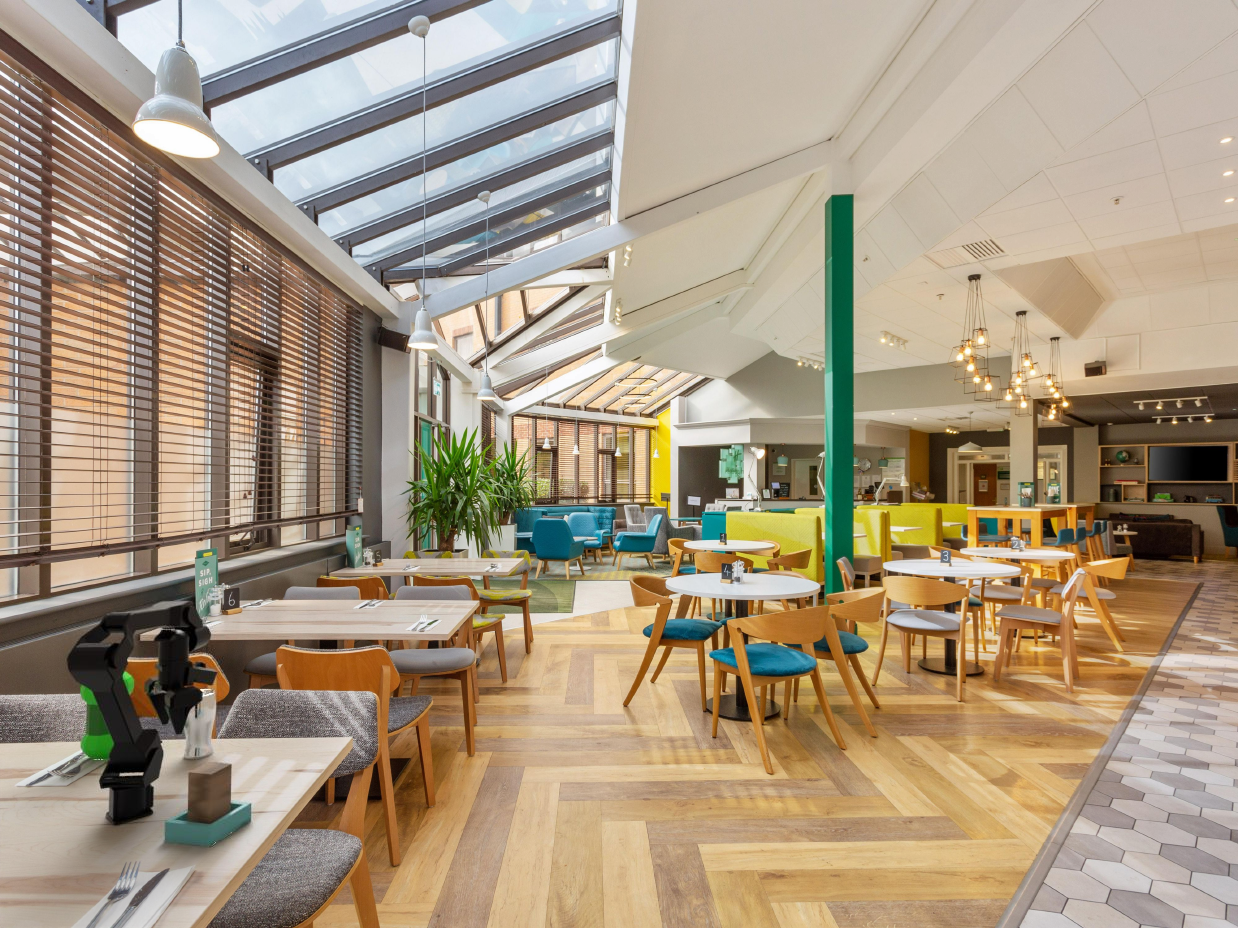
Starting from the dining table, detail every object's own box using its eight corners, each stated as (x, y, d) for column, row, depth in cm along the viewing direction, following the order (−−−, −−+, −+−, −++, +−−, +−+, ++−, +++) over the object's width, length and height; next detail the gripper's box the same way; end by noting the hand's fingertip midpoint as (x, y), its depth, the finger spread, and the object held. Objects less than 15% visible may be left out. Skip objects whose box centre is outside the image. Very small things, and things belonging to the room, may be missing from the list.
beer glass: (203, 760, 162) (204, 697, 163) (174, 760, 163) (176, 697, 163) (221, 749, 169) (222, 688, 170) (193, 748, 170) (195, 688, 170)
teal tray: (164, 840, 125) (164, 821, 125) (207, 815, 135) (208, 797, 135) (210, 846, 123) (210, 827, 123) (251, 820, 133) (251, 802, 133)
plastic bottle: (123, 745, 172) (126, 646, 173) (137, 755, 165) (139, 652, 166) (74, 757, 164) (77, 653, 165) (86, 768, 158) (89, 660, 159)
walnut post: (187, 831, 127) (188, 771, 128) (208, 818, 132) (209, 761, 132) (209, 834, 126) (210, 774, 126) (230, 821, 131) (231, 763, 131)
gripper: (229, 657, 150) (227, 728, 150) (199, 645, 163) (197, 710, 162) (171, 668, 142) (169, 743, 141) (144, 653, 154) (142, 723, 153)
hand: (171, 729), depth 150 cm, fingers open, 9 cm apart
